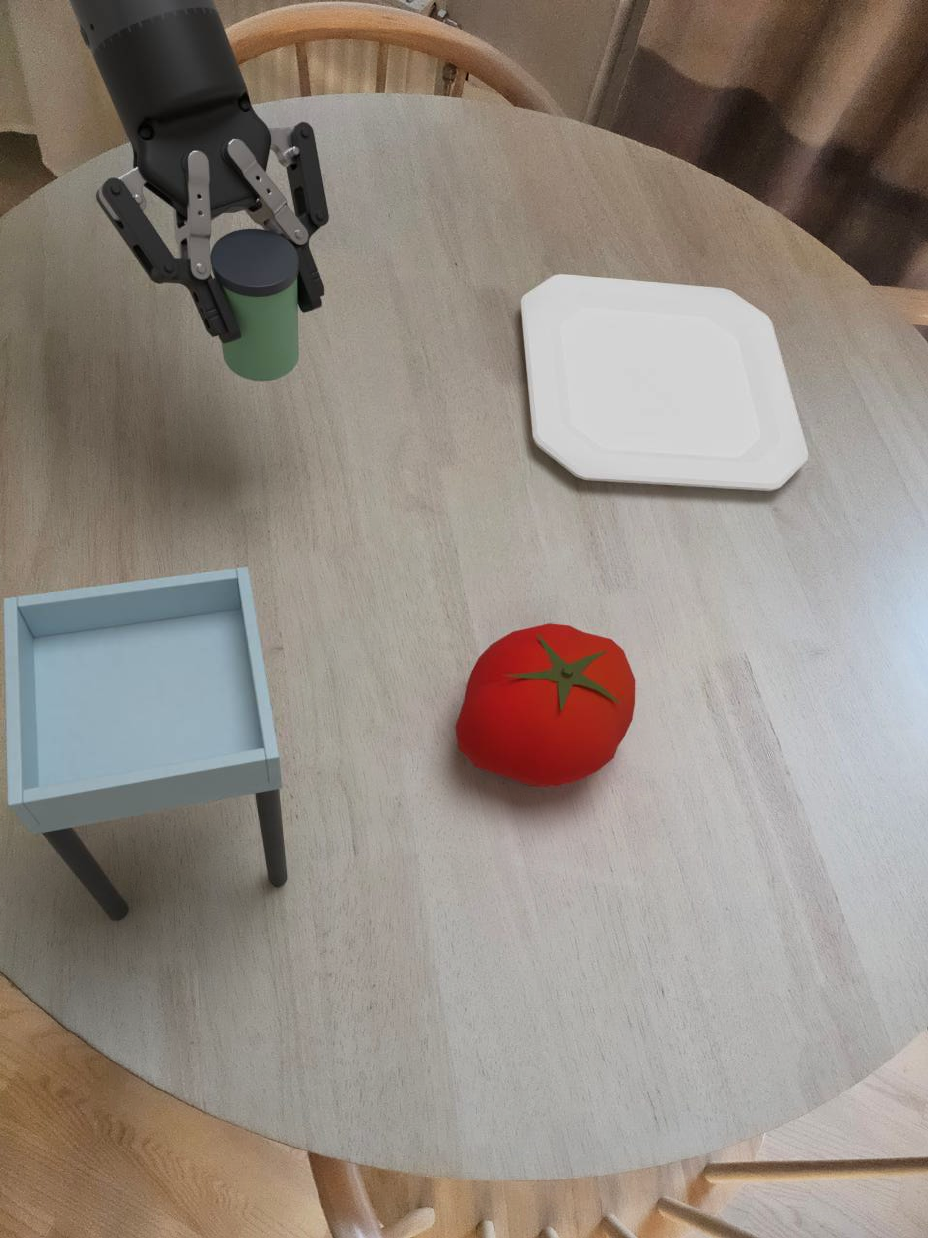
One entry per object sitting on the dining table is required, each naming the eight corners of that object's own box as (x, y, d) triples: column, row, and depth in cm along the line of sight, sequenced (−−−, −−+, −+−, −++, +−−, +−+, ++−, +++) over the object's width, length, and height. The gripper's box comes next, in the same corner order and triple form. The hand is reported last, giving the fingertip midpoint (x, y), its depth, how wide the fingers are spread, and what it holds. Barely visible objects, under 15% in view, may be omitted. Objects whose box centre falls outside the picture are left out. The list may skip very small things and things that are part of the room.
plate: (532, 489, 80) (537, 472, 78) (514, 286, 92) (518, 267, 90) (809, 505, 83) (821, 489, 81) (756, 306, 95) (765, 289, 93)
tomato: (418, 704, 68) (433, 635, 60) (565, 641, 73) (600, 568, 64) (492, 841, 64) (521, 788, 55) (644, 766, 68) (693, 706, 59)
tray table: (107, 925, 58) (6, 805, 39) (96, 770, 63) (2, 597, 44) (290, 886, 61) (279, 757, 42) (267, 740, 65) (248, 565, 46)
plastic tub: (226, 386, 62) (215, 289, 55) (217, 329, 65) (205, 230, 58) (305, 379, 64) (304, 283, 57) (293, 324, 66) (291, 226, 59)
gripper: (41, 33, 48) (187, 361, 54) (287, -22, 53) (393, 280, 60) (21, 80, 54) (154, 369, 60) (244, 26, 60) (344, 295, 66)
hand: (273, 323), depth 60 cm, fingers closed on plastic tub, 5 cm apart
